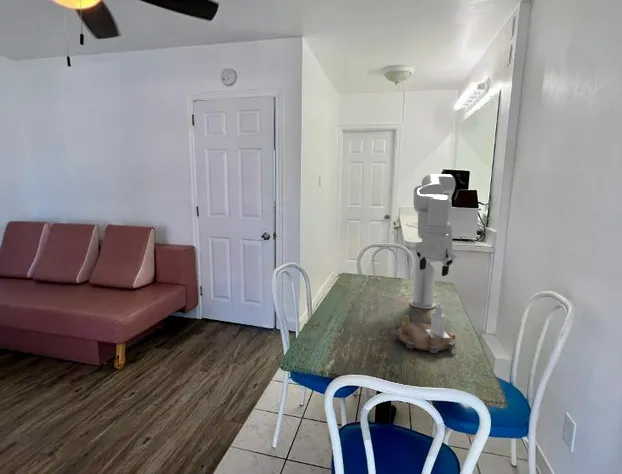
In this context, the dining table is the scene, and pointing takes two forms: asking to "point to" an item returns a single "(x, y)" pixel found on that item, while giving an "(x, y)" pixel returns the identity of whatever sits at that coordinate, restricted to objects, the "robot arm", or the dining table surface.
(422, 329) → the sprocket
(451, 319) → the dining table surface
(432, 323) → the eye dropper bottle
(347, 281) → the dining table surface
